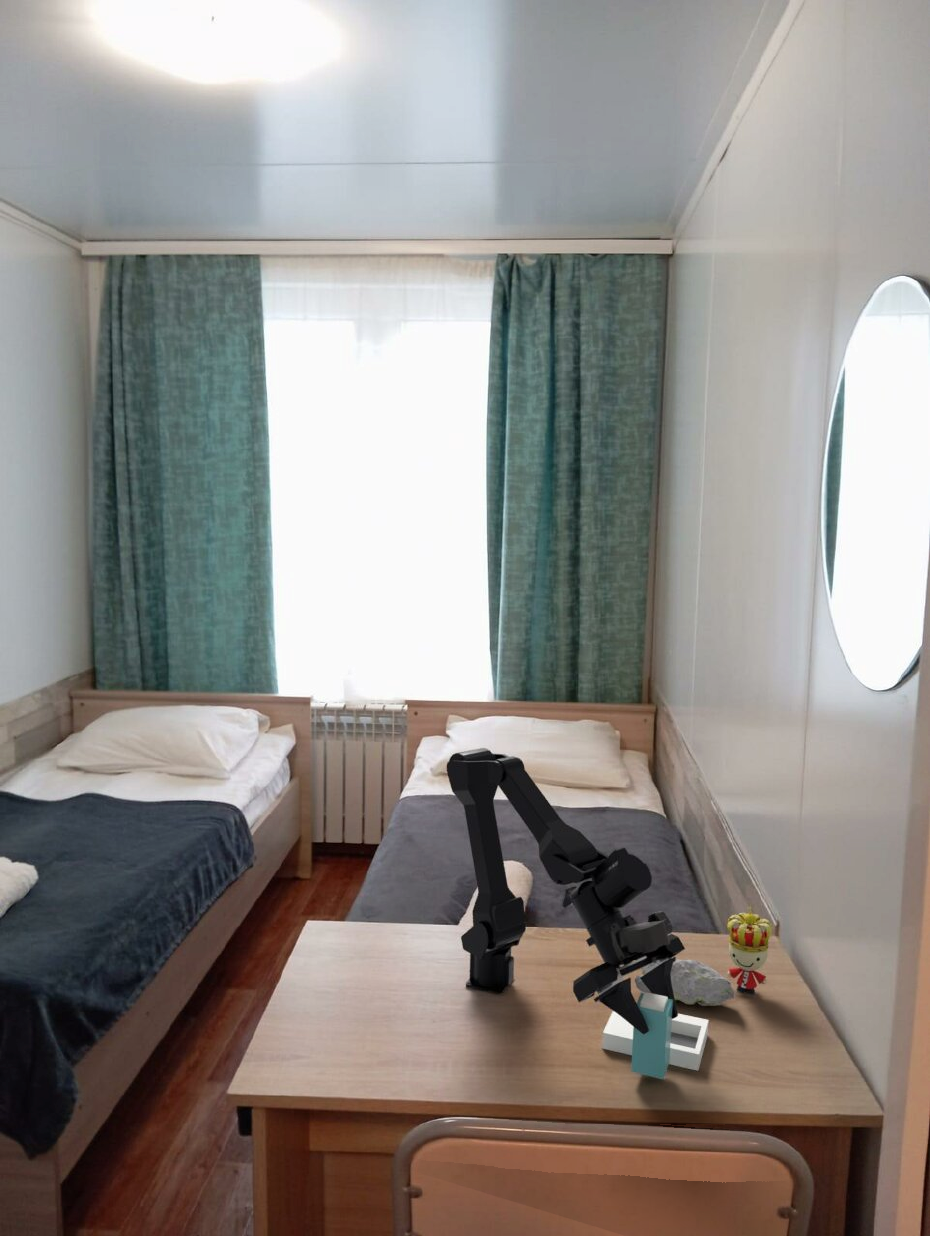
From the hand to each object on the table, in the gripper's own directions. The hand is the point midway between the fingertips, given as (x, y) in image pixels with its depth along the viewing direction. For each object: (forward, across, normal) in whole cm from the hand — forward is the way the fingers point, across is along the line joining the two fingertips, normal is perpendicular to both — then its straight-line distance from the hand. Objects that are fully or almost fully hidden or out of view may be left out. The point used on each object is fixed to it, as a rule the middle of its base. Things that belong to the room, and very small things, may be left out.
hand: (661, 1025), depth 132 cm
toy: (+1, +32, +11) cm, 34 cm away
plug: (+4, 0, +6) cm, 7 cm away
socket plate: (+1, +8, +11) cm, 13 cm away
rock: (-2, +22, +15) cm, 27 cm away
